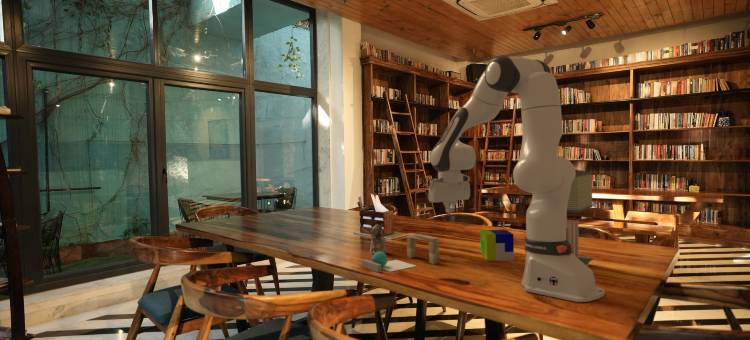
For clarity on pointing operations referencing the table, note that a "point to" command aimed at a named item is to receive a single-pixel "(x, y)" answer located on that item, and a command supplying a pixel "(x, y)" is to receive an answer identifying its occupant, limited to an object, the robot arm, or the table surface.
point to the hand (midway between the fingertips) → (449, 212)
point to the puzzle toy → (497, 245)
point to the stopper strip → (371, 265)
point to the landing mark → (396, 265)
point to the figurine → (378, 240)
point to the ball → (380, 258)
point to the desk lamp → (578, 209)
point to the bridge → (432, 246)
